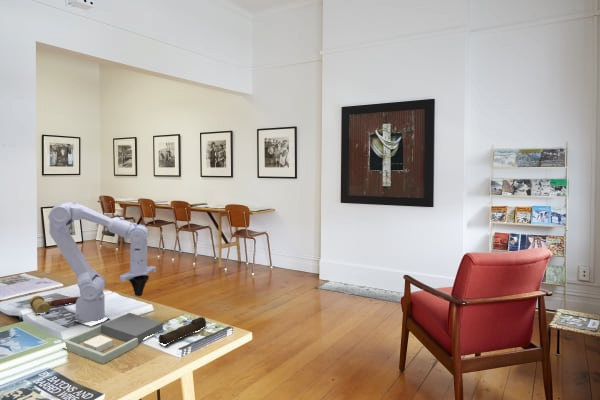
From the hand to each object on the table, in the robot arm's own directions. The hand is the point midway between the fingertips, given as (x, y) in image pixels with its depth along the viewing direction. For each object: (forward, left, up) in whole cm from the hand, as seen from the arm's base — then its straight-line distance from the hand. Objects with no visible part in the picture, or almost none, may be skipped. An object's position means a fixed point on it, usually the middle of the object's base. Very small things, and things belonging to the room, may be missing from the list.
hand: (138, 295), depth 149 cm
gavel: (-34, -5, -10) cm, 36 cm away
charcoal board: (+6, -8, -9) cm, 14 cm away
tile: (+5, -21, -7) cm, 23 cm away
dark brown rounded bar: (+22, -1, -10) cm, 24 cm away
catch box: (+6, -20, -9) cm, 23 cm away
